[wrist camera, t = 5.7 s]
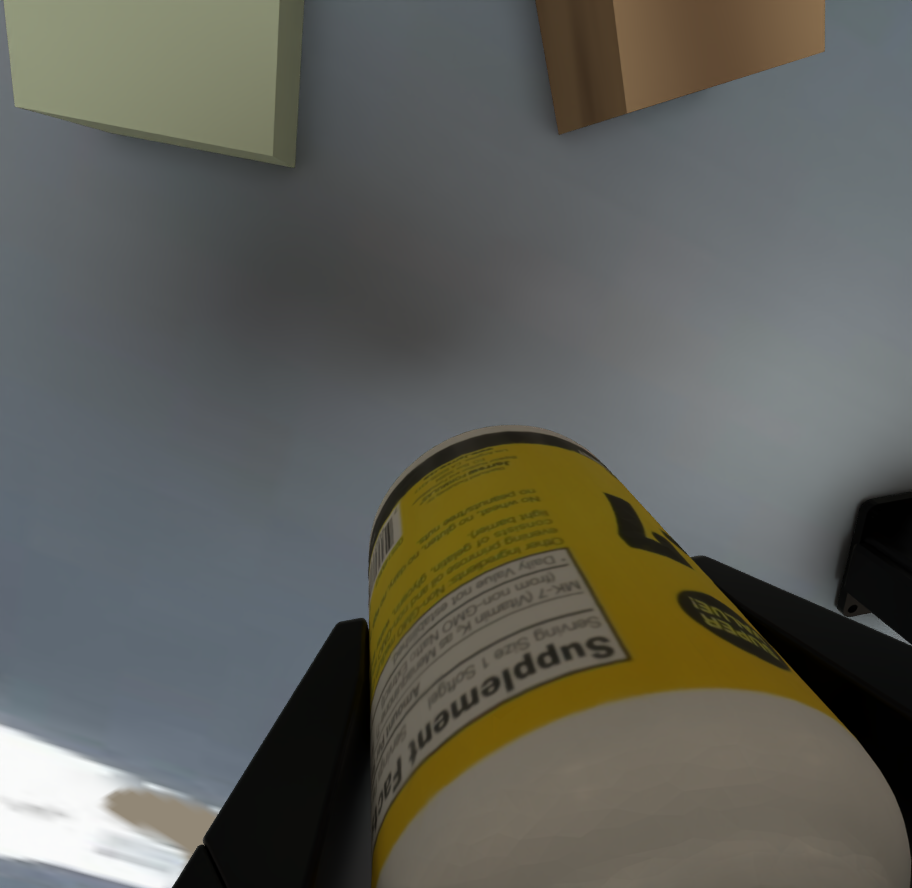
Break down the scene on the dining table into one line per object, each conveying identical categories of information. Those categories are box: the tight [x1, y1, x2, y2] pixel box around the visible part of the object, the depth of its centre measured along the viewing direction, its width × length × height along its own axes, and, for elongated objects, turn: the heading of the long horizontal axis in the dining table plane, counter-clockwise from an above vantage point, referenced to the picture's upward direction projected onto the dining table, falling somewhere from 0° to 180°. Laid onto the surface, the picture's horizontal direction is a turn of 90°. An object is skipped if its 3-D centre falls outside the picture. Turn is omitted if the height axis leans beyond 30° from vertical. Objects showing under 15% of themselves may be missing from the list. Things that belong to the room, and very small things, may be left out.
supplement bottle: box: [368, 425, 911, 888], centre depth 7 cm, size 5×5×8 cm
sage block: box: [4, 0, 304, 168], centre depth 13 cm, size 5×5×5 cm
